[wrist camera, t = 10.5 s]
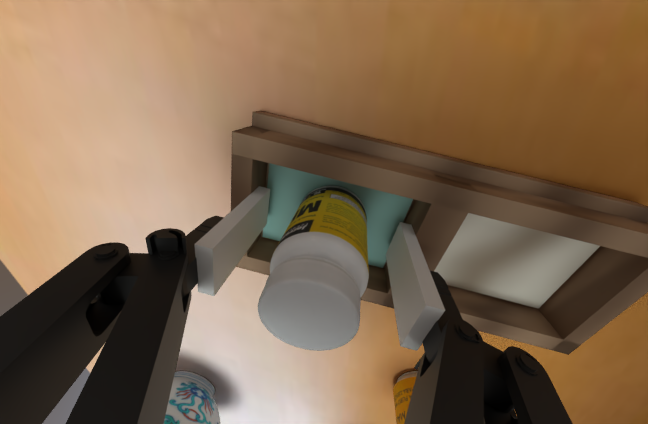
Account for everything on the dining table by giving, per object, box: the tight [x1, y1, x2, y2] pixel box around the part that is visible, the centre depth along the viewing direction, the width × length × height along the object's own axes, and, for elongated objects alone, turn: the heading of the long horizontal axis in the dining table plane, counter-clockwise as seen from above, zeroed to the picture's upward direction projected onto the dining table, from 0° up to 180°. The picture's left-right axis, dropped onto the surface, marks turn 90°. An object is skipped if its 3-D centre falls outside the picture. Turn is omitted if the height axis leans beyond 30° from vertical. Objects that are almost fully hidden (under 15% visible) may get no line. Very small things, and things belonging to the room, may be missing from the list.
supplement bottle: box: [258, 186, 369, 351], centre depth 12 cm, size 5×5×8 cm
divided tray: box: [231, 111, 648, 355], centre depth 15 cm, size 24×11×4 cm, turn 79°
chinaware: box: [164, 371, 220, 424], centre depth 30 cm, size 15×15×8 cm
